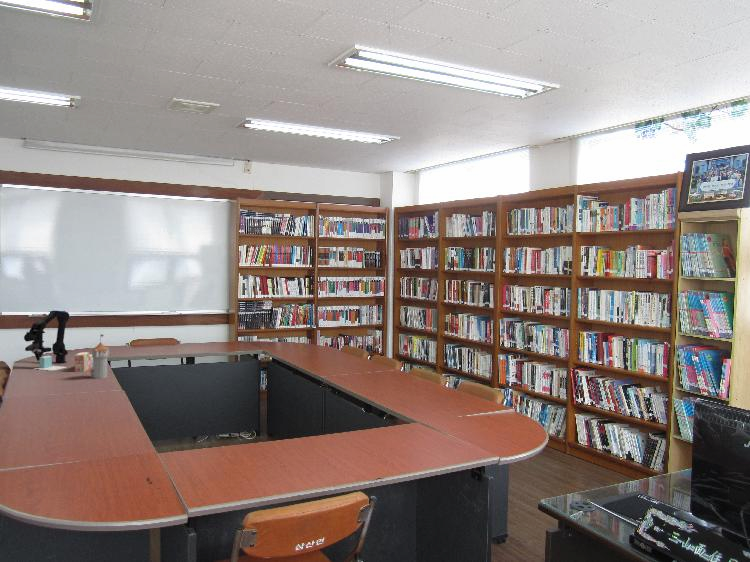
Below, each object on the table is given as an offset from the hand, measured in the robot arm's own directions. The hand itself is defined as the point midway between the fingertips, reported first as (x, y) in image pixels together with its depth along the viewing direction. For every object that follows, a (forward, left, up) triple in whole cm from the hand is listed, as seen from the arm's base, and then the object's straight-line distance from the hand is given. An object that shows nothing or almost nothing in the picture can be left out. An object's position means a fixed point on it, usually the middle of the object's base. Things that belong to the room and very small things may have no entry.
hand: (38, 360), depth 439 cm
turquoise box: (0, +7, -4) cm, 8 cm away
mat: (0, +11, -5) cm, 12 cm away
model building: (+14, +65, -5) cm, 66 cm away
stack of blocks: (-7, +34, -5) cm, 35 cm away
